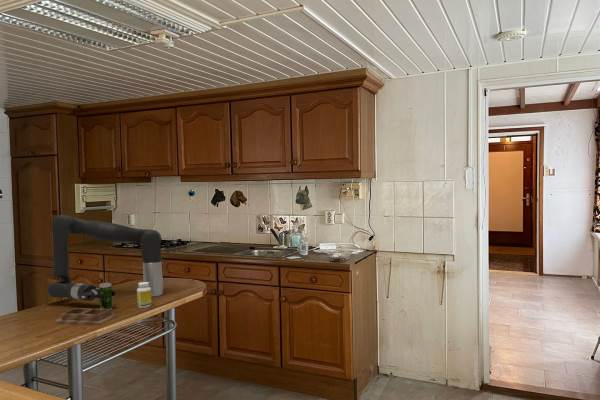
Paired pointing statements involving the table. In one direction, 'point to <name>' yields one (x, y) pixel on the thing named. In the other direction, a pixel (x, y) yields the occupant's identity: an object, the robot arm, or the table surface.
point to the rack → (86, 316)
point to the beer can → (106, 296)
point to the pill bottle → (143, 295)
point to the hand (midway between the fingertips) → (109, 295)
